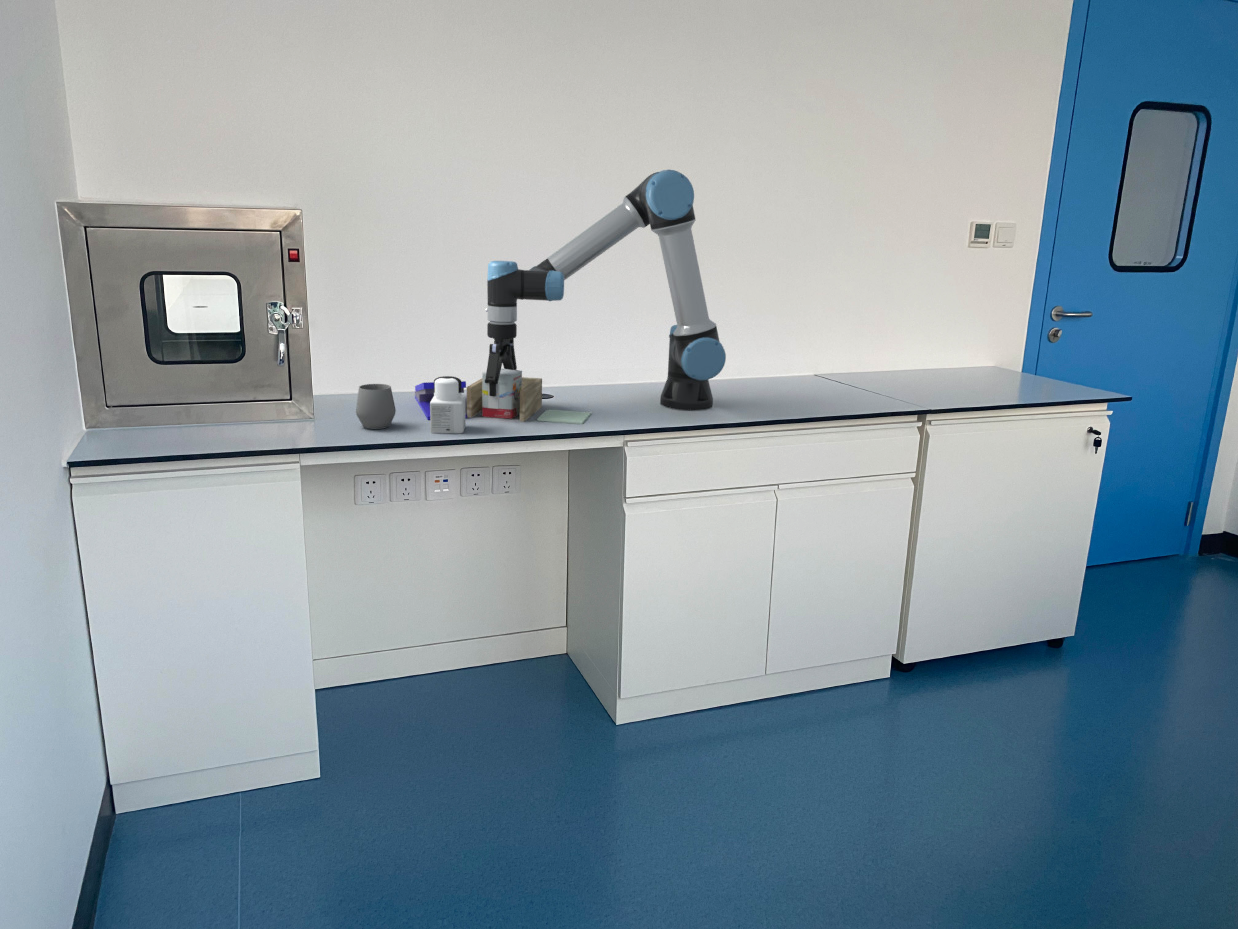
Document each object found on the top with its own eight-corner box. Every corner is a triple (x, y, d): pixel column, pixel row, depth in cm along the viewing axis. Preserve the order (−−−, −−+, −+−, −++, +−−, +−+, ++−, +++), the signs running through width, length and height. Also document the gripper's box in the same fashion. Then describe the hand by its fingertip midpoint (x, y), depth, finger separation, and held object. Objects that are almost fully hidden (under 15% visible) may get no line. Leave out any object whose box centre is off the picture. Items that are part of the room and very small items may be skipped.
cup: (359, 432, 210) (357, 391, 207) (354, 423, 218) (352, 383, 215) (399, 430, 213) (398, 389, 211) (392, 421, 222) (391, 382, 219)
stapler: (425, 421, 224) (424, 383, 221) (412, 398, 249) (411, 364, 246) (470, 419, 228) (470, 382, 225) (453, 397, 253) (452, 363, 250)
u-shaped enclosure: (541, 406, 243) (542, 378, 241) (524, 421, 226) (524, 391, 224) (488, 403, 246) (488, 374, 243) (466, 417, 228) (466, 387, 226)
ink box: (512, 419, 228) (512, 374, 225) (481, 416, 230) (480, 372, 226) (522, 412, 236) (522, 369, 233) (492, 410, 238) (492, 366, 235)
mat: (591, 414, 237) (591, 412, 237) (581, 424, 226) (582, 422, 226) (547, 410, 239) (547, 409, 239) (536, 420, 228) (536, 419, 228)
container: (434, 425, 219) (433, 374, 215) (465, 426, 219) (464, 374, 216) (430, 433, 211) (429, 380, 208) (462, 433, 212) (462, 380, 208)
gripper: (502, 316, 239) (501, 392, 244) (472, 327, 215) (472, 411, 221) (528, 317, 237) (527, 394, 243) (502, 329, 214) (501, 414, 220)
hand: (501, 402), depth 232 cm, fingers open, 13 cm apart
